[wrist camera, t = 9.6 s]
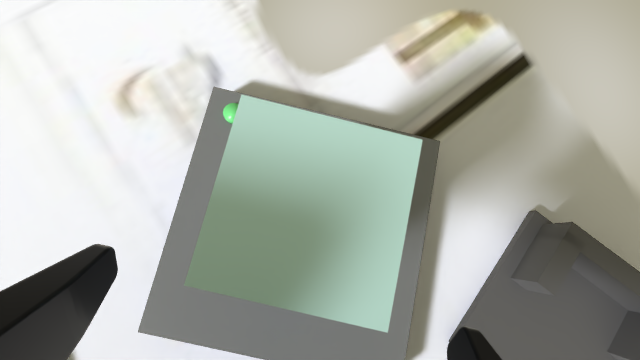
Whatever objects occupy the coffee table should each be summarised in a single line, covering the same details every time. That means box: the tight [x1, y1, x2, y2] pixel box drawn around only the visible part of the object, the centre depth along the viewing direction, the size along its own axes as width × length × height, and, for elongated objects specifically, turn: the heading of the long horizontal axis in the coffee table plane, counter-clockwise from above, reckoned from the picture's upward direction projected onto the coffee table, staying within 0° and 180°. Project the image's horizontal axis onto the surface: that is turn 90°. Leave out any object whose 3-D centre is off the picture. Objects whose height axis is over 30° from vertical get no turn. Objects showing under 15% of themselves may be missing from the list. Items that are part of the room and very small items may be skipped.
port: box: [138, 87, 440, 360], centre depth 17 cm, size 12×12×2 cm
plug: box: [184, 94, 423, 333], centre depth 12 cm, size 4×4×11 cm
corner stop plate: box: [449, 211, 640, 360], centre depth 17 cm, size 8×8×2 cm
